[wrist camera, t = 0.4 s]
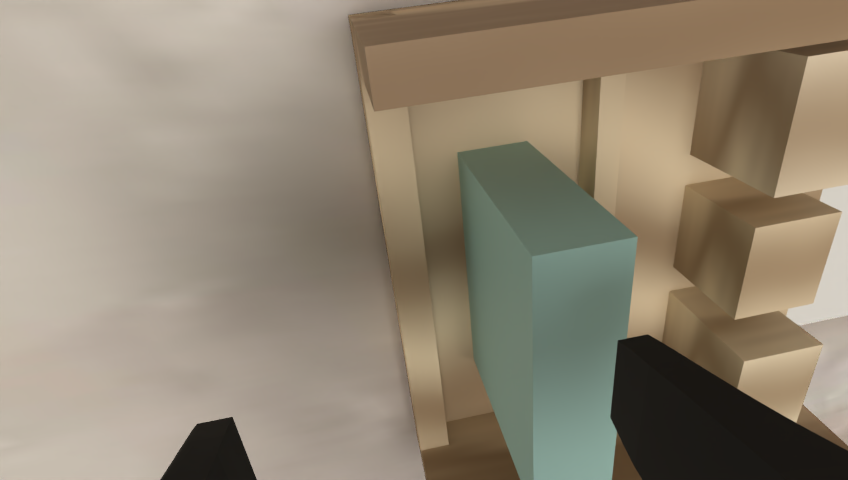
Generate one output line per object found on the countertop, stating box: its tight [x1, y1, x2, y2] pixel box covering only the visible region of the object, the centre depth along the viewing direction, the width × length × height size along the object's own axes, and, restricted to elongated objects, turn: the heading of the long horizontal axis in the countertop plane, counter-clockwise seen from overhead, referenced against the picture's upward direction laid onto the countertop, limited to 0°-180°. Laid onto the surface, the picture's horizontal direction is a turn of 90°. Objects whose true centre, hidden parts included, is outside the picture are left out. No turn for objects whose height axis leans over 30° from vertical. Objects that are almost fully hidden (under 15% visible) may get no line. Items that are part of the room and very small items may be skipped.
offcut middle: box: [673, 177, 842, 320], centre depth 19 cm, size 4×3×4 cm
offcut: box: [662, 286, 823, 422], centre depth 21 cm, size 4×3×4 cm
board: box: [457, 141, 638, 480], centre depth 16 cm, size 9×2×7 cm, turn 6°
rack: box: [348, 0, 848, 480], centre depth 18 cm, size 18×16×7 cm
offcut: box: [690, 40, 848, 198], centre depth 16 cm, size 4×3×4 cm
